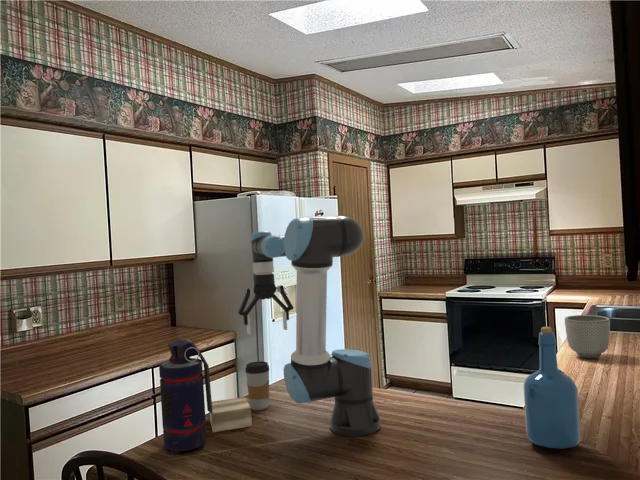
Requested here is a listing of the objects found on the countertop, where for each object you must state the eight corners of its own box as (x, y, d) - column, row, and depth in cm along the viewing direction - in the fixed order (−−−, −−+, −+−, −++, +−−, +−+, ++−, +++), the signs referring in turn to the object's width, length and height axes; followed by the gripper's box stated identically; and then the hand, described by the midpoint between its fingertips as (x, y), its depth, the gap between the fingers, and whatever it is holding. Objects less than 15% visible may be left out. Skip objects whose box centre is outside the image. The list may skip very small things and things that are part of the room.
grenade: (168, 458, 139) (161, 348, 139) (160, 444, 150) (154, 341, 149) (218, 446, 145) (212, 340, 145) (207, 433, 156) (201, 334, 156)
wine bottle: (578, 454, 127) (571, 333, 127) (521, 445, 134) (514, 330, 134) (583, 434, 139) (577, 323, 139) (531, 427, 146) (525, 322, 146)
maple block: (252, 426, 160) (250, 407, 160) (212, 433, 157) (211, 413, 157) (246, 414, 172) (245, 396, 172) (210, 420, 169) (208, 402, 168)
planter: (573, 360, 214) (571, 322, 214) (561, 351, 231) (559, 315, 231) (618, 359, 211) (616, 321, 211) (602, 350, 228) (600, 314, 228)
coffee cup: (267, 411, 173) (264, 367, 173) (244, 411, 175) (241, 367, 175) (274, 403, 181) (272, 360, 181) (252, 403, 183) (249, 361, 183)
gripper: (293, 270, 196) (297, 326, 196) (228, 276, 188) (231, 334, 188) (299, 271, 189) (302, 328, 189) (231, 276, 181) (235, 337, 181)
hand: (267, 331), depth 188 cm, fingers open, 13 cm apart
